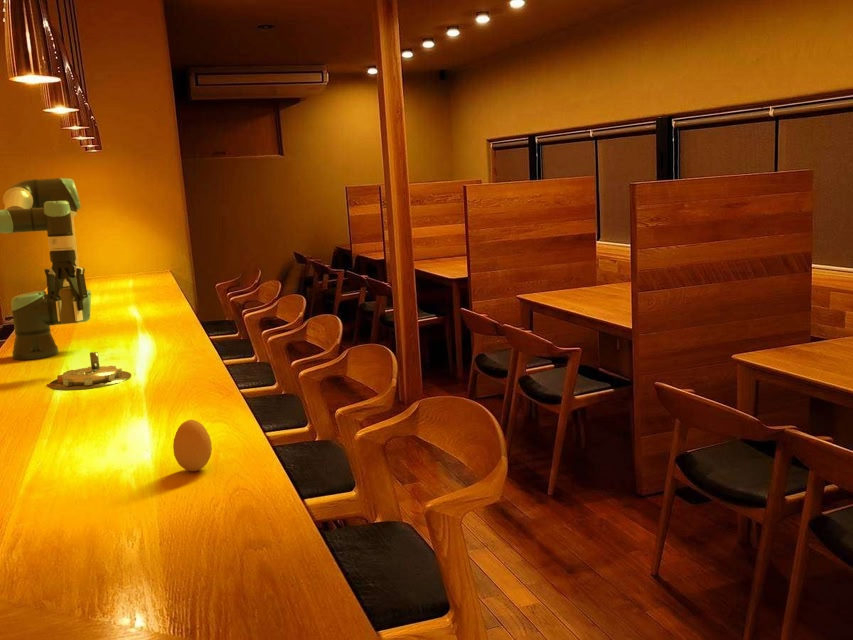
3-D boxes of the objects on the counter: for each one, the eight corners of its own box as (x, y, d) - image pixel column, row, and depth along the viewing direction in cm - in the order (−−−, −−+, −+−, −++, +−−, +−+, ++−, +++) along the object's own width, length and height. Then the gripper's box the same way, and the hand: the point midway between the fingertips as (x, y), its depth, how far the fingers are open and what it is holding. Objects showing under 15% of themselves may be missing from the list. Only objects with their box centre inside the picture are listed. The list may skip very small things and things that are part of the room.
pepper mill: (85, 320, 260) (81, 286, 258) (68, 323, 255) (64, 289, 253) (73, 319, 263) (69, 286, 261) (56, 322, 258) (52, 288, 256)
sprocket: (49, 388, 240) (46, 365, 238) (69, 373, 258) (66, 352, 257) (113, 383, 241) (110, 361, 240) (128, 369, 260) (126, 348, 259)
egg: (198, 478, 160) (193, 426, 158) (167, 475, 163) (162, 424, 161) (221, 465, 167) (216, 416, 165) (191, 462, 170) (186, 413, 168)
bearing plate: (30, 388, 242) (30, 387, 242) (84, 370, 264) (83, 368, 264) (98, 391, 235) (97, 389, 235) (146, 371, 258) (146, 370, 258)
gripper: (28, 251, 254) (37, 322, 258) (79, 249, 249) (87, 322, 253) (45, 249, 261) (54, 318, 265) (95, 247, 256) (103, 318, 260)
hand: (70, 320), depth 259 cm, fingers closed on pepper mill, 6 cm apart
